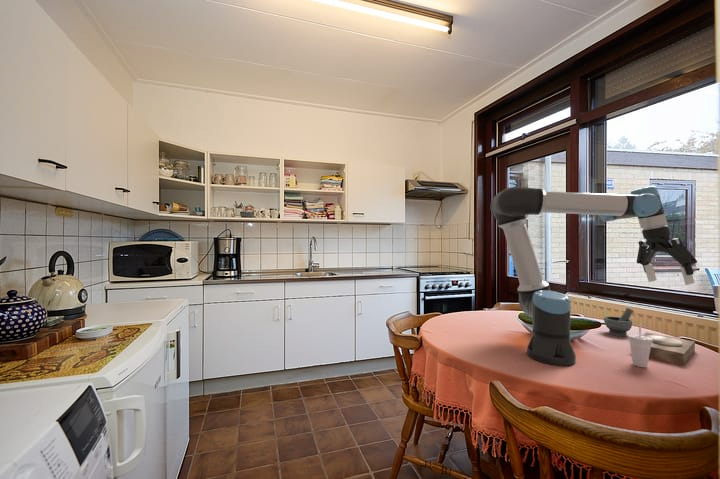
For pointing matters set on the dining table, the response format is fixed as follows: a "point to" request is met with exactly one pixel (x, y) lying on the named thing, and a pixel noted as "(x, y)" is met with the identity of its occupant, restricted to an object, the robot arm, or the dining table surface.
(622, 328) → the mortar and pestle
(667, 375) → the dining table surface
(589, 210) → the robot arm
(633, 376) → the dining table surface
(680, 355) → the base
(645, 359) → the smoothie
